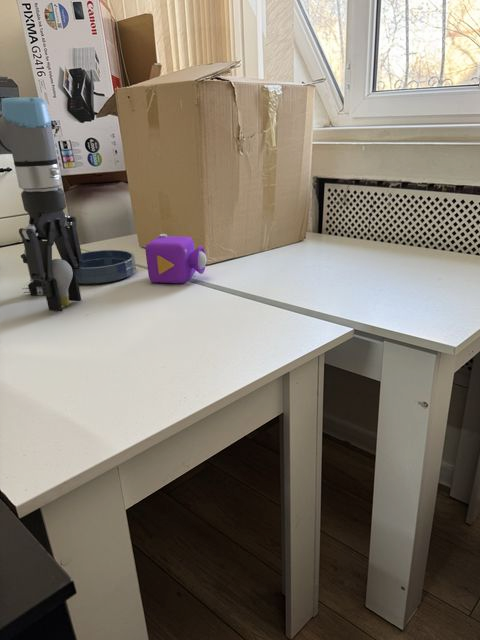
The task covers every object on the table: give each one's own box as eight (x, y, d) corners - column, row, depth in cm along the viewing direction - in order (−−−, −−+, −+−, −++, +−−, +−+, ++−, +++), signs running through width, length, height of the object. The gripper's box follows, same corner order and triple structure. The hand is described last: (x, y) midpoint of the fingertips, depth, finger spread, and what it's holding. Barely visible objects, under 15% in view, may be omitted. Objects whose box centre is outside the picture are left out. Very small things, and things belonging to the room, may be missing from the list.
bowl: (49, 282, 121) (45, 265, 120) (93, 263, 136) (90, 248, 134) (110, 288, 116) (107, 270, 114) (149, 268, 131) (147, 251, 129)
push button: (20, 298, 111) (9, 253, 107) (27, 291, 116) (17, 247, 112) (51, 296, 112) (42, 251, 108) (57, 289, 117) (48, 246, 113)
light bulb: (45, 310, 103) (35, 262, 99) (59, 301, 108) (50, 255, 104) (70, 311, 102) (61, 263, 98) (83, 302, 107) (75, 256, 103)
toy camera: (206, 284, 116) (203, 241, 112) (147, 286, 117) (141, 243, 112) (210, 271, 126) (207, 231, 122) (155, 273, 126) (150, 232, 122)
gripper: (21, 196, 86) (50, 323, 96) (88, 182, 102) (107, 292, 112) (-13, 195, 89) (18, 319, 98) (58, 182, 104) (78, 290, 114)
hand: (65, 305), depth 105 cm, fingers closed on light bulb, 5 cm apart
